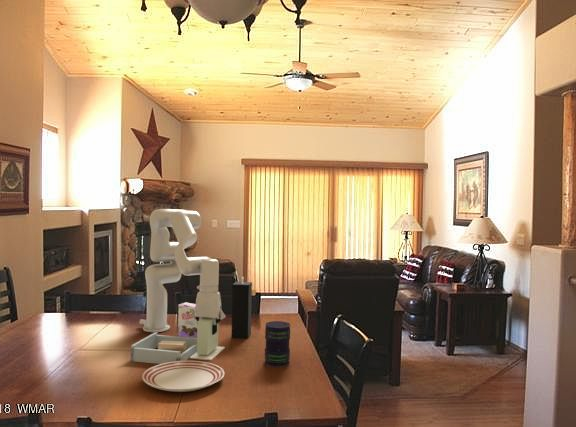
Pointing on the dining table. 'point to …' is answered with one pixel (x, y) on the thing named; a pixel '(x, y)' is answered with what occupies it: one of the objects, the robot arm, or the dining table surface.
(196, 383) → the dinner plate
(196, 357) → the felt mat
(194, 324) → the candy box
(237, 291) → the tissue box
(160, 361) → the grey square tray frame
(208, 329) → the pale green block
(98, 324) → the dining table surface
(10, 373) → the dining table surface
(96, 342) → the dining table surface
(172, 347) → the offcut upper
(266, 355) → the storage jar
